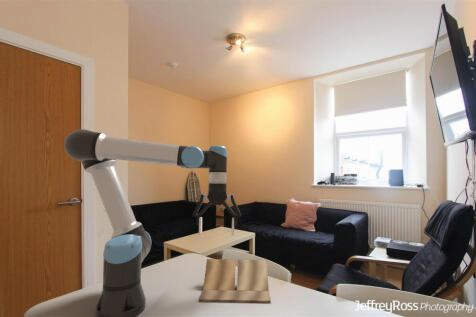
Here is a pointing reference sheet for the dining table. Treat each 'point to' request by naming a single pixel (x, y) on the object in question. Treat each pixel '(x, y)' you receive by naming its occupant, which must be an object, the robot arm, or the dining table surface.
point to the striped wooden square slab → (219, 274)
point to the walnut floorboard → (235, 296)
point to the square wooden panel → (252, 275)
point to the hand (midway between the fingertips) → (216, 234)
